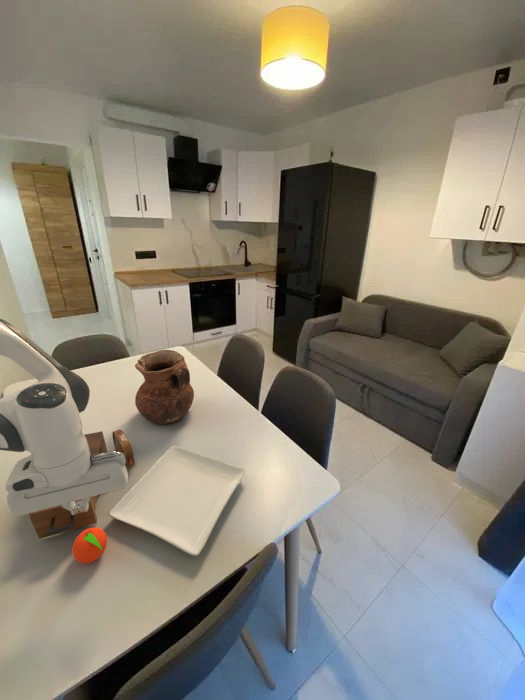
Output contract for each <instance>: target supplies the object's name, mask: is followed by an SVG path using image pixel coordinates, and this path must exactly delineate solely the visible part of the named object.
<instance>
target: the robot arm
mask: <svg viewBox="0 0 525 700" xmlns="http://www.w3.org/2000/svg"><path fill="white" fill-rule="evenodd" d="M0 356H2V357H5V358H8V359H10V360H11V361H12V362H14V363H15V364H17V365H18V366H19V367H20V368H22V369H23V370H24V371H25V372H27V373H28V374H29V375H30V376H32V377H33V378H34V379H35V380H36V381H37V382H34V383H32V384H30V385H28V386H26V387H24V388H22V389H20V390H17V391H13V392H11V393H9V394H7V395H5V396H3V397H1V398H0V451H5V452H13V453H24V452H28V453H30V455H28V456H25V457H23V458H21V459H19V460H18V461H17V462H16V463H15V464H14V466H13V467H12V470H11V471H10V473H9V475H8V477H7V480H6V482H5V486H4V488H5V491H6V492H7V495H6V502H7V506H8V509H9V511H10V513H11V514H12V515H15V516H18V517H21V516H24V515H27V514H28V515H29V513H32V512H36V511H39V510H43V509H47V508H51V507H55V506H58V505H61V506H62V507H63V508H65V509H67V510H69V511H71V514H72V515H75V514H78V513H82V512H86V511H88V508H89V501H90V497H93V496H97V497H98V496H99V495H103V494H104V495H105V494H108V493H111V492H114V491H115V492H116V491H119V490H124V489H125V488H126V487H127V485H128V483H129V473H128V468H126V466H125V463H126V459H125V456H124V454H123V453H120V452H116V450H110V451H107V453H102V454H96V455H92V456H91V453H90V450H89V446H88V442H87V439H86V437H85V436H84V435H85V434H83V427H84V426H83V421H82V418H81V413H83V412H84V411H85V410H86V409H87V406H88V404H89V400H90V395H91V390H90V387H89V385H88V383H87V382H86V380H85V379H84V378H82V376H80V375H79V374H77V373H75V372H74V371H72V370H70V369H68V367H65V366H64V365H63V364H61V363H60V362H59V361H58V360H56V359H55V358H54V357H53V356H51V355H50V354H49V353H48V352H46V351H45V350H44V349H42V347H41V346H39V345H38V344H36V343H35V342H34V341H33V340H32V339H31V338H29V337H28V336H27V335H26V334H24V333H23V332H21V331H20V330H19V329H18V328H16V327H15V326H14V325H12V324H11V323H10V322H8V321H6V320H4V319H2V318H0ZM81 499H82V501H79V502H74V501H77V500H81Z"/></svg>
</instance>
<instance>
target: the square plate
mask: <svg viewBox="0 0 525 700" xmlns="http://www.w3.org/2000/svg"><path fill="white" fill-rule="evenodd" d="M245 473H246V470H245V469H244V468H241V467H239V466H236V465H233V464H231V463H227V462H225V461H221V460H218V459H216V458H212V457H210V456H207V455H205V454H204V455H203V454H201V453H198V452H195V451H192V450H189V449H187V448H185V447H184V448H183V447H181V446H177V445H172V446H170V447H169V448H168V449H167V450H166V451H165V452H164V453H163V454H162V455H161V457H160V458H158V460H157V461H155V463H154V464H152V466H150V468H149V469H148V470H147V471H146V472H145V473H144V474H143V475H142V476H141V477H140V478H139V479H138V481H136V483H135V484H134V485H132V487H130V488H129V490H127V492H126V493H125V494H123V496H122V497H121V498H120V499H119V500H118V501H117V502H116V504H115V505H113V506H112V508H111V509H109V511H108V513H107V515H108V516H109V517H110V518H112V519H115V520H116V521H120V522H121V523H125V524H126V525H129V526H132V527H135V528H136V529H139V530H142V531H144V532H146V533H148V534H151V535H153V536H155V537H156V538H158V539H160V540H162V541H164V542H166V543H168V544H170V545H171V546H173V547H174V548H177V549H178V550H180V551H182V552H184V553H186V554H188V555H189V556H192V557H196V556H199V555H200V553H201V552H202V551H203V549H204V548H205V546H206V544H207V541H208V540H209V537H210V536H211V533H212V531H213V530H214V528H215V526H216V523H217V522H218V520H219V518H220V516H221V515H222V513H223V510H224V509H225V507H226V506H227V504H228V502H229V501H230V499H231V497H232V495H233V494H234V492H235V490H236V489H237V487H238V486H239V484H240V483H241V481H242V479H243V477H244V476H245Z"/></svg>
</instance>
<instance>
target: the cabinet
mask: <svg viewBox="0 0 525 700" xmlns="http://www.w3.org/2000/svg"><path fill="white" fill-rule="evenodd" d="M83 435H84V436H85V437H86V439H87V442H88V446H89V450H90V453H91V456H92V455H96V454H102V453H108V450H107V449H108V448H107V444H106V441H105V437H104V432H103V431H102V430H101V431H97V432H92V433H91V432H90V433H86V434H85V433H84V434H83Z"/></svg>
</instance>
